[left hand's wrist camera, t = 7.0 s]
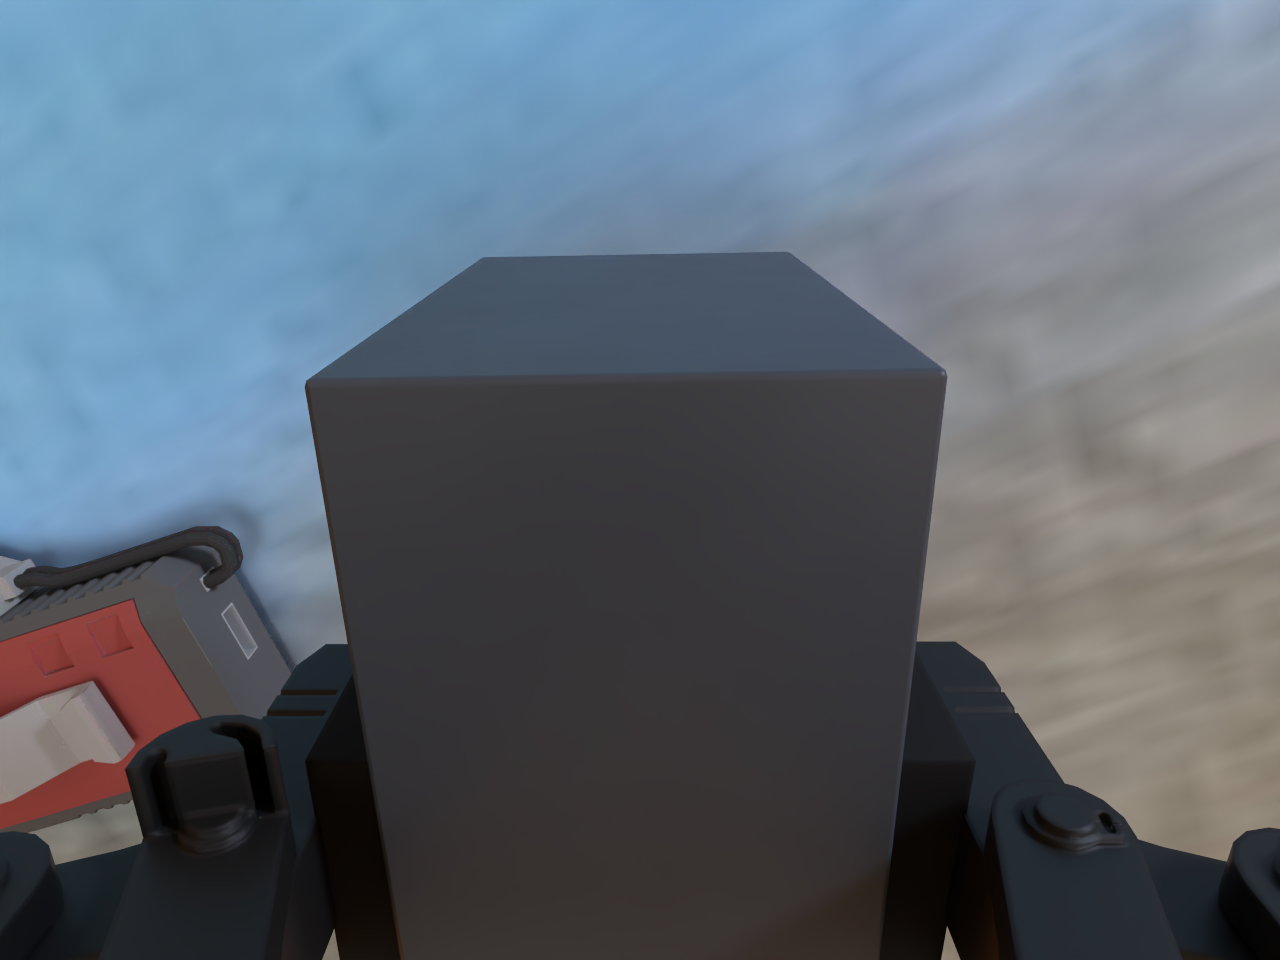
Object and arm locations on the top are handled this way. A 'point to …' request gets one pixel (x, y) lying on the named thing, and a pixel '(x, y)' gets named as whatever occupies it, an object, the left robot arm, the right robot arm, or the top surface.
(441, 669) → the bar
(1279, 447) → the top surface
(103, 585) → the walkie-talkie
